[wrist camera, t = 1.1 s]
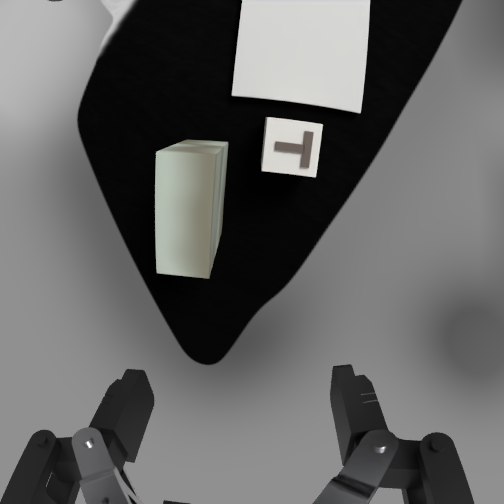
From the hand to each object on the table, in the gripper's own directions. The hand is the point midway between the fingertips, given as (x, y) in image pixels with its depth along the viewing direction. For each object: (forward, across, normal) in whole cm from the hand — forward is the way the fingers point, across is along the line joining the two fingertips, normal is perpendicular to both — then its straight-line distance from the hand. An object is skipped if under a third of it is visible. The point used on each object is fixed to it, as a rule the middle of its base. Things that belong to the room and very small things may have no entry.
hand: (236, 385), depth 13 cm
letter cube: (+21, -4, -9) cm, 23 cm away
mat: (+20, -7, -21) cm, 30 cm away
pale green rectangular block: (+21, +4, -5) cm, 22 cm away
